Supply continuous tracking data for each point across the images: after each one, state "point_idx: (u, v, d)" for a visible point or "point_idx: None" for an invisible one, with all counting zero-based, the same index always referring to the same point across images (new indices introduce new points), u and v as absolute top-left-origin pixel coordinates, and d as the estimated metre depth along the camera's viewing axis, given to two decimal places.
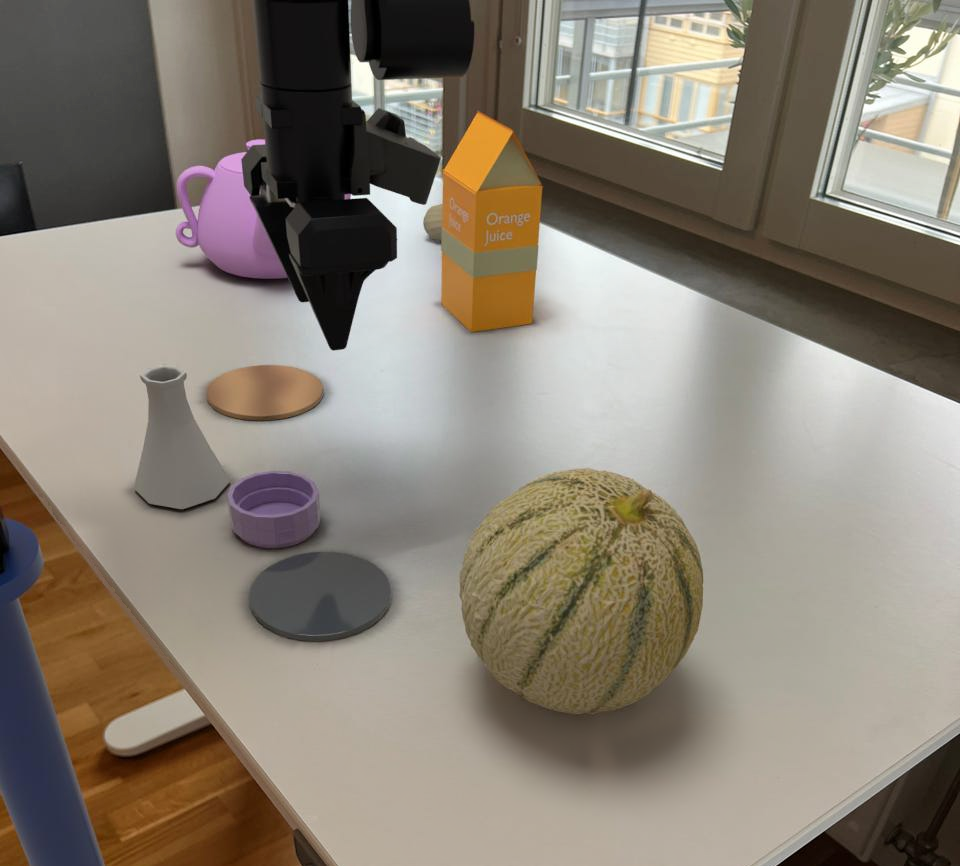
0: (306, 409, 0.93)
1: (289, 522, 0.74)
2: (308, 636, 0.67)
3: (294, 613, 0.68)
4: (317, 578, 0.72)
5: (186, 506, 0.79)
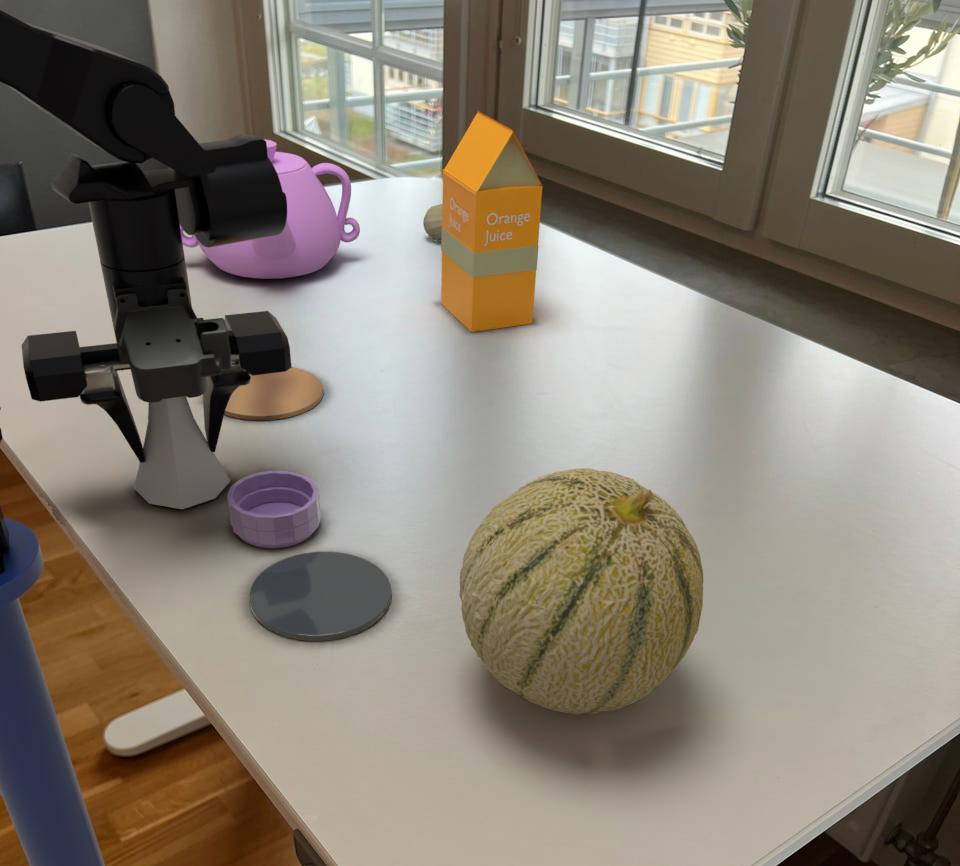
0: (306, 409, 0.93)
1: (289, 522, 0.74)
2: (308, 636, 0.67)
3: (294, 613, 0.68)
4: (317, 578, 0.72)
5: (186, 506, 0.79)
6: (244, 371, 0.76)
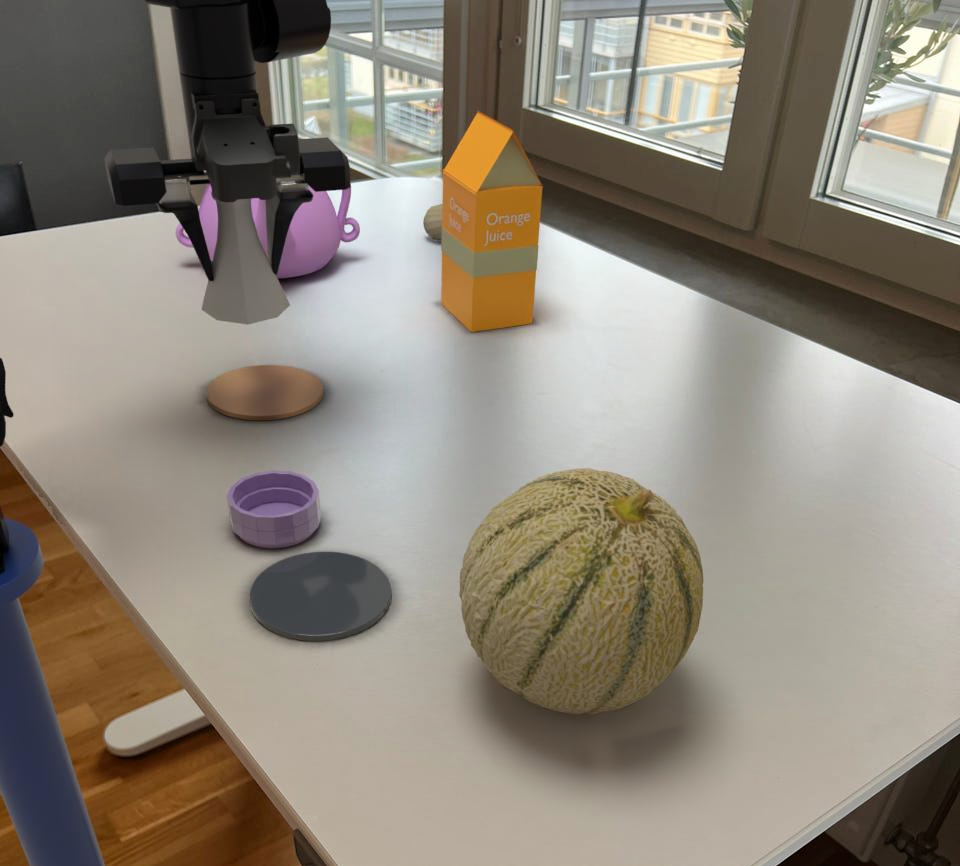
0: (306, 409, 0.93)
1: (289, 522, 0.74)
2: (308, 636, 0.67)
3: (294, 613, 0.68)
4: (317, 578, 0.72)
5: (251, 322, 0.85)
6: (307, 190, 0.82)
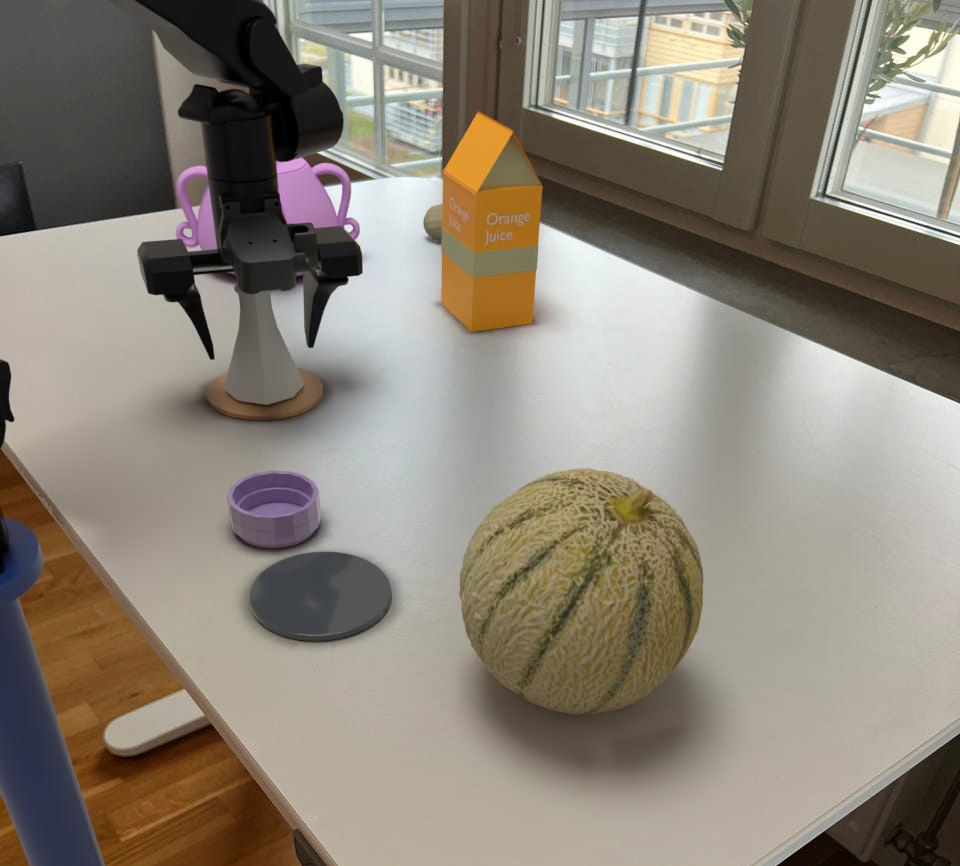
0: (306, 409, 0.93)
1: (289, 522, 0.74)
2: (308, 636, 0.67)
3: (294, 613, 0.68)
4: (317, 578, 0.72)
5: (270, 402, 0.92)
6: None
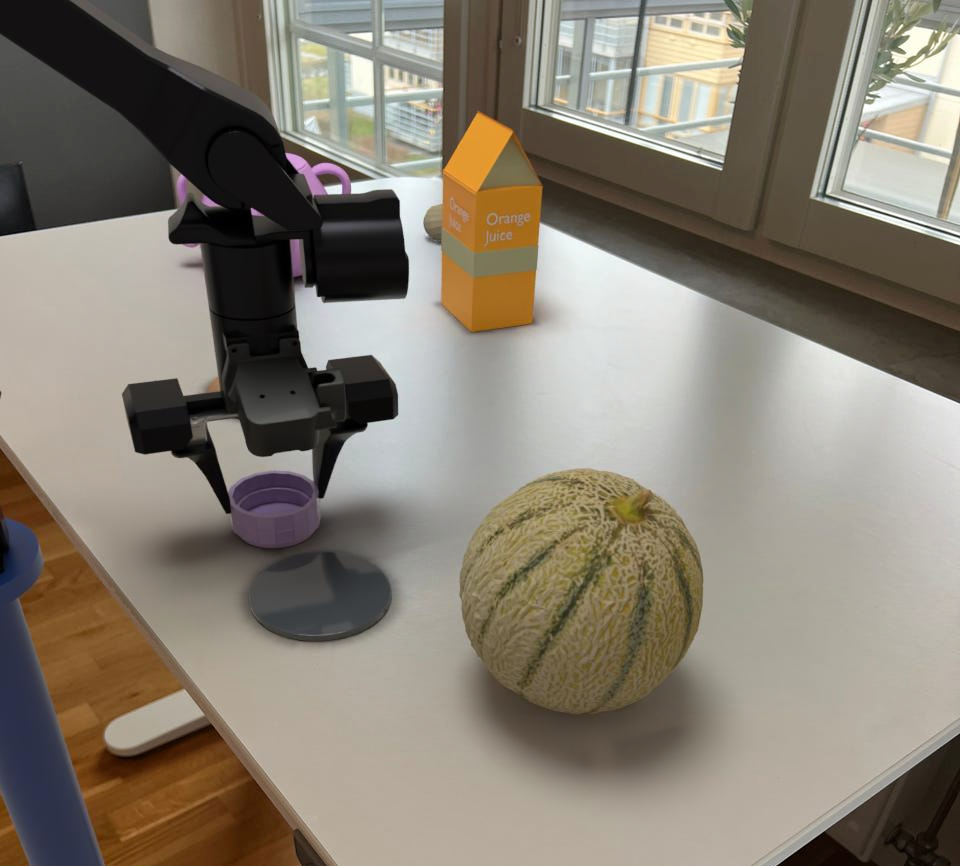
0: None
1: (289, 522, 0.74)
2: (308, 636, 0.67)
3: (294, 613, 0.68)
4: (317, 578, 0.72)
5: None
6: None
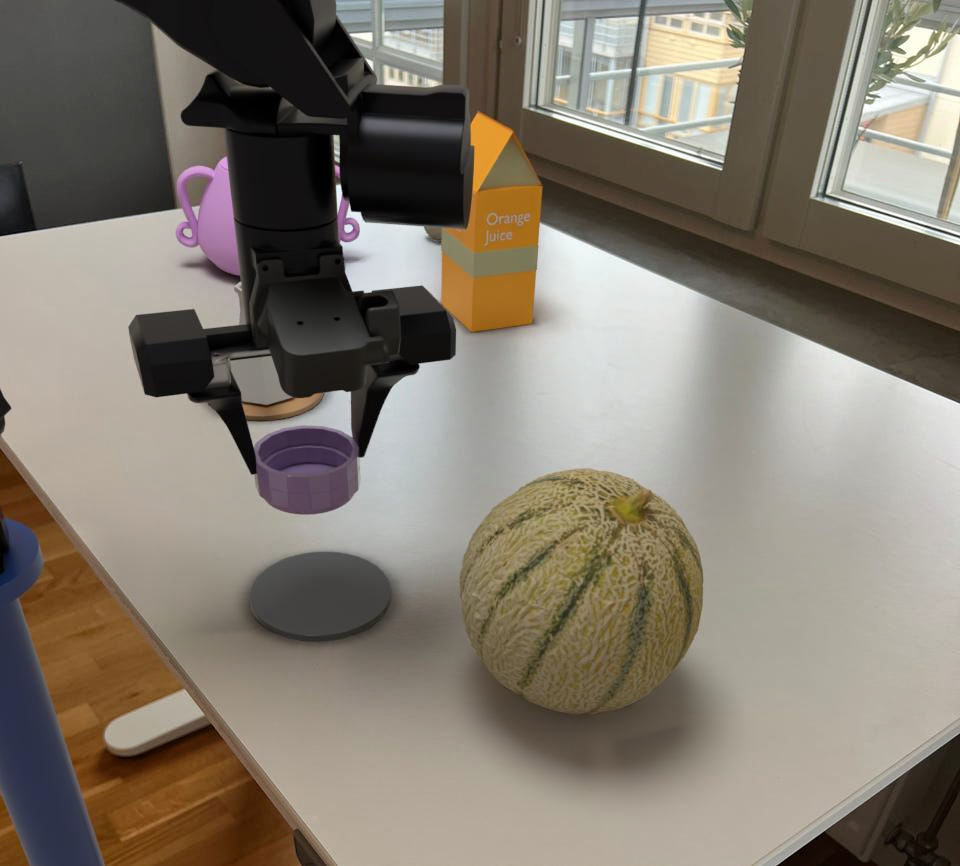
0: (306, 409, 0.93)
1: (326, 483, 0.63)
2: (308, 636, 0.67)
3: (294, 613, 0.68)
4: (317, 578, 0.72)
5: (270, 402, 0.92)
6: None
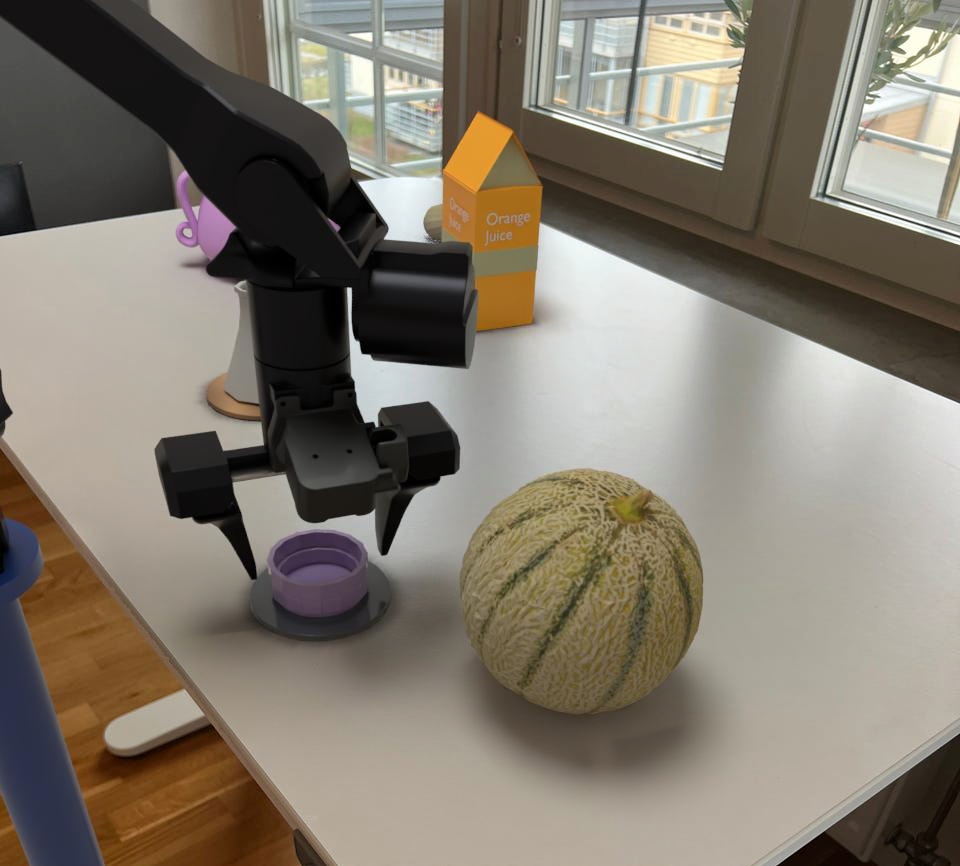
0: None
1: (336, 590, 0.67)
2: (308, 636, 0.67)
3: None
4: None
5: None
6: None
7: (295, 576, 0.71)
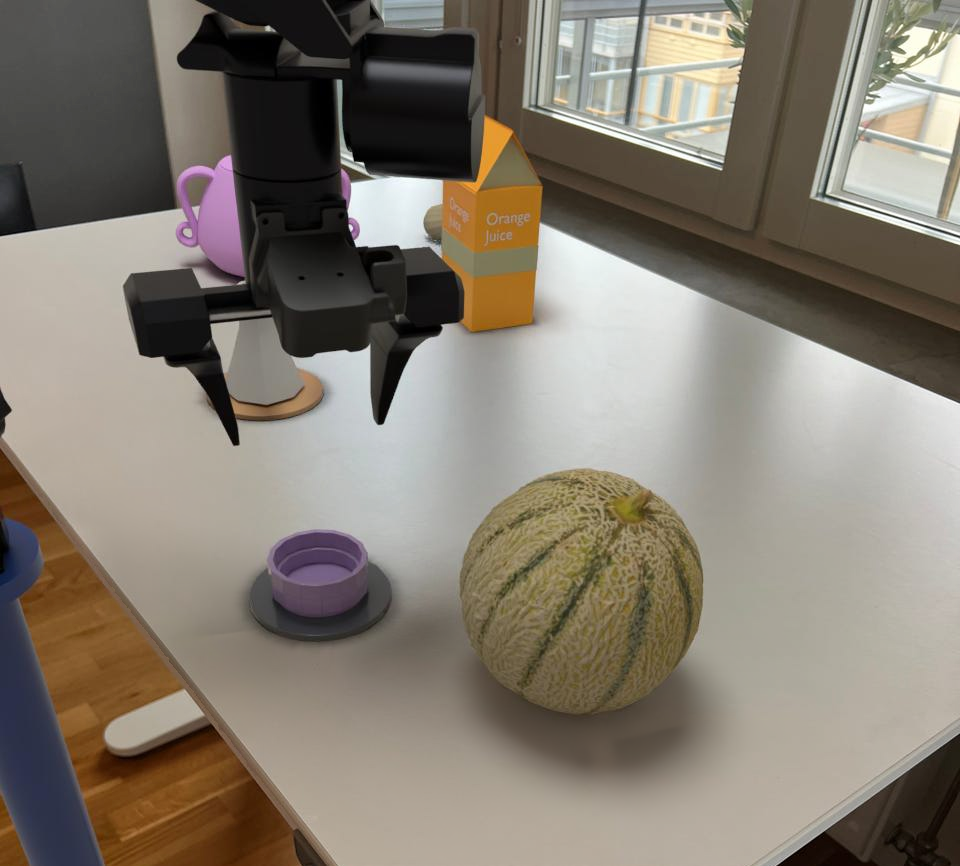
0: (306, 409, 0.93)
1: (336, 590, 0.67)
2: (308, 636, 0.67)
3: None
4: None
5: (270, 402, 0.92)
6: None
7: (295, 576, 0.71)
